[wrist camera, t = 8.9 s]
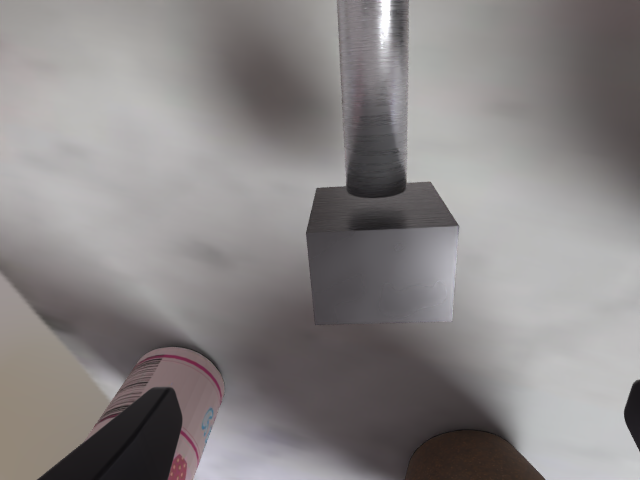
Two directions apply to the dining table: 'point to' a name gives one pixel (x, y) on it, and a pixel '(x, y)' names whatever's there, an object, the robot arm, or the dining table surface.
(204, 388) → the beverage can
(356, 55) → the shaft
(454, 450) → the plant pot
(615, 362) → the dining table surface
